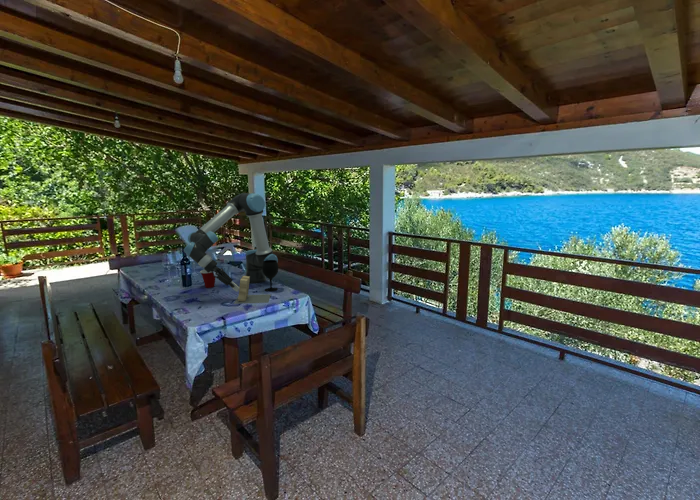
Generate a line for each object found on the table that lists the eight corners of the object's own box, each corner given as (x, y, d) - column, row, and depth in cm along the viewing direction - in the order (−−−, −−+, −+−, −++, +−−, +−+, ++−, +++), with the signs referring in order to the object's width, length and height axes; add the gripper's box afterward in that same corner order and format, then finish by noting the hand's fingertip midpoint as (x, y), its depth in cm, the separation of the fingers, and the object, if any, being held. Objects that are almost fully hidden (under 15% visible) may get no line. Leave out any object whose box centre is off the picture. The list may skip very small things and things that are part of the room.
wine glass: (262, 293, 224) (261, 263, 221) (263, 288, 234) (262, 259, 231) (279, 292, 226) (278, 262, 223) (279, 287, 236) (278, 259, 233)
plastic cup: (199, 286, 239) (197, 269, 237) (215, 283, 245) (214, 267, 243) (203, 290, 231) (202, 272, 228) (219, 287, 237) (218, 270, 235)
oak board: (241, 295, 215) (243, 275, 213) (247, 296, 216) (249, 276, 214) (238, 300, 206) (240, 280, 204) (244, 301, 206) (247, 280, 204)
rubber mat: (238, 296, 218) (238, 295, 218) (271, 295, 221) (271, 294, 221) (233, 304, 203) (233, 303, 203) (268, 303, 205) (268, 302, 205)
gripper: (206, 265, 211) (236, 291, 216) (200, 270, 198) (231, 297, 203) (215, 257, 211) (244, 282, 215) (209, 261, 198) (240, 288, 203)
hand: (238, 290), depth 209 cm, fingers closed
